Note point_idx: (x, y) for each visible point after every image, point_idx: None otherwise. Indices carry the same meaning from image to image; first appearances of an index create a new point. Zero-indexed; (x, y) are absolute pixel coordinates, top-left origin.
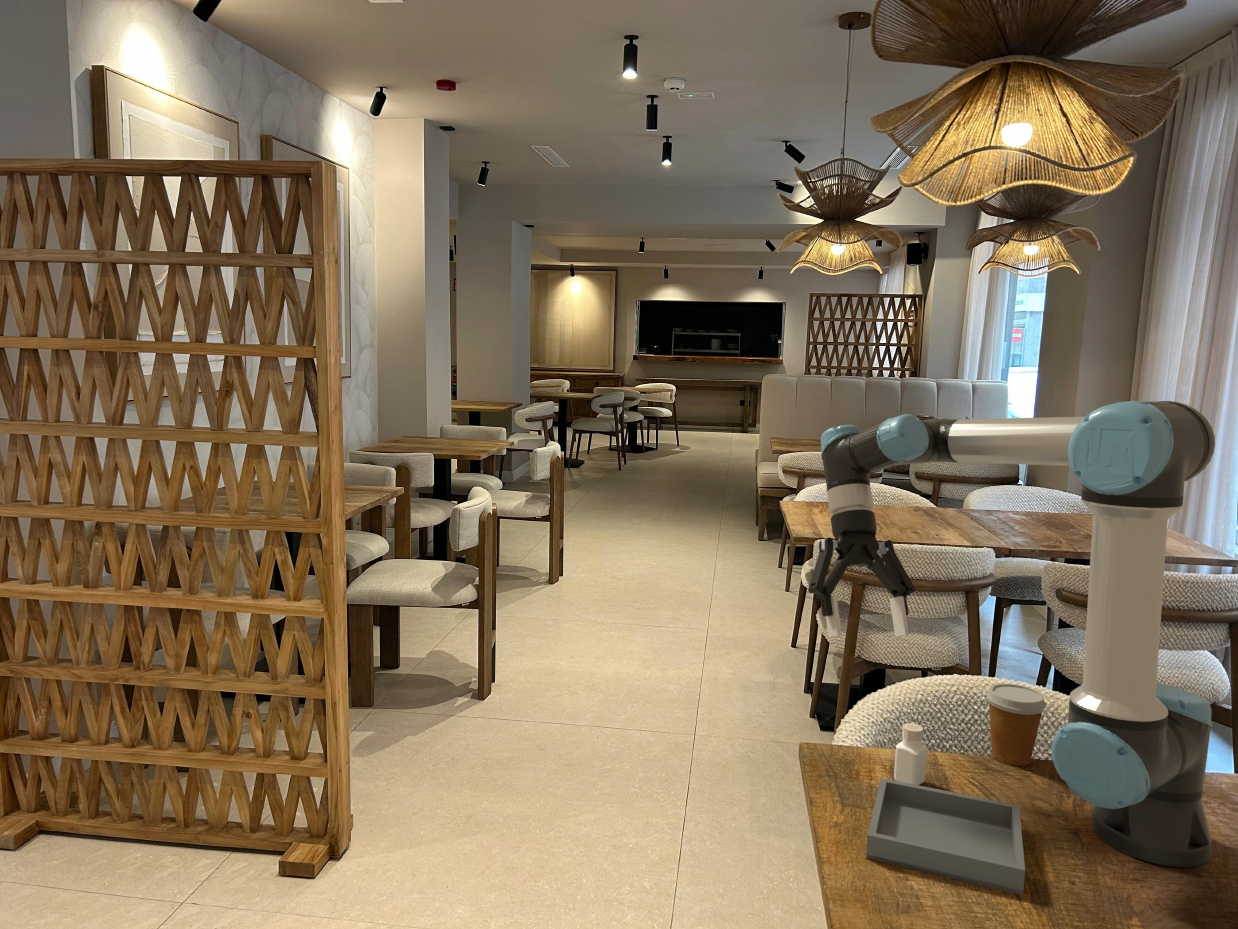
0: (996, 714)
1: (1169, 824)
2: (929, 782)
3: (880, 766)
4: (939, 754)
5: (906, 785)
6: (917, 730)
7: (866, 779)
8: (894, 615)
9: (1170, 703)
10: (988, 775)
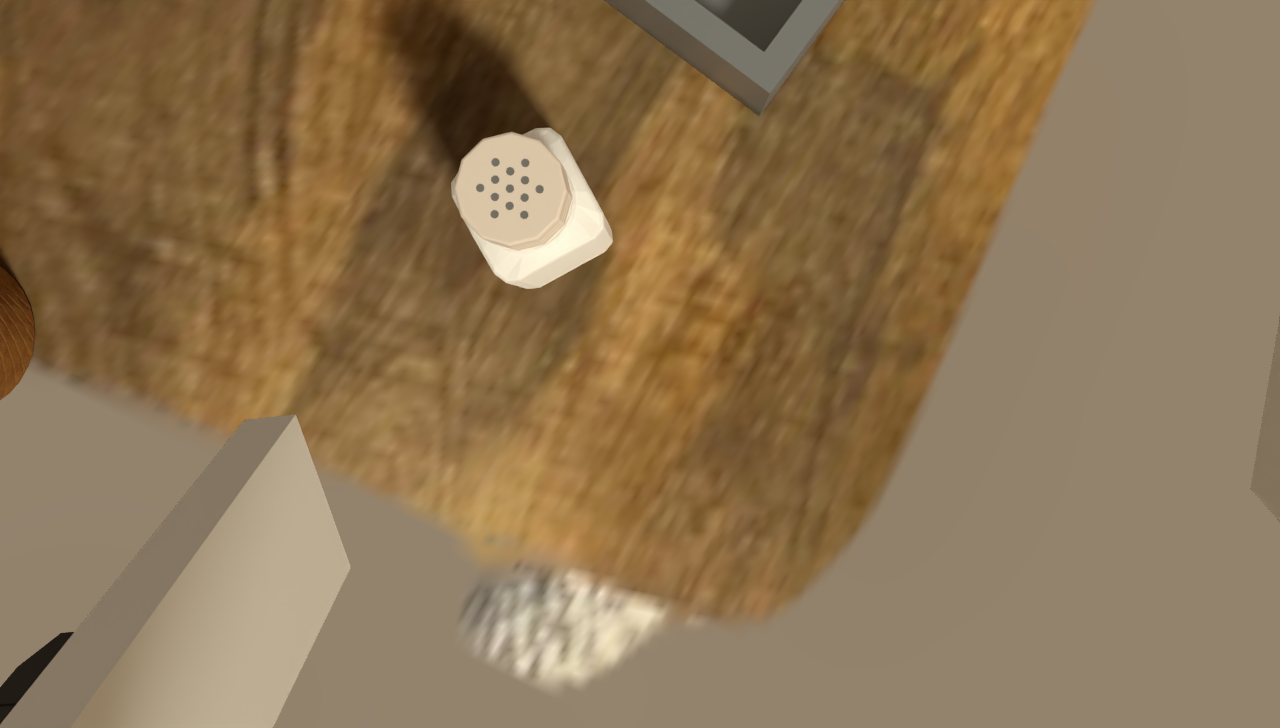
0: None
1: None
2: None
3: (597, 378)
4: None
5: (690, 5)
6: (511, 140)
7: (723, 281)
8: (239, 721)
9: None
10: (167, 204)
